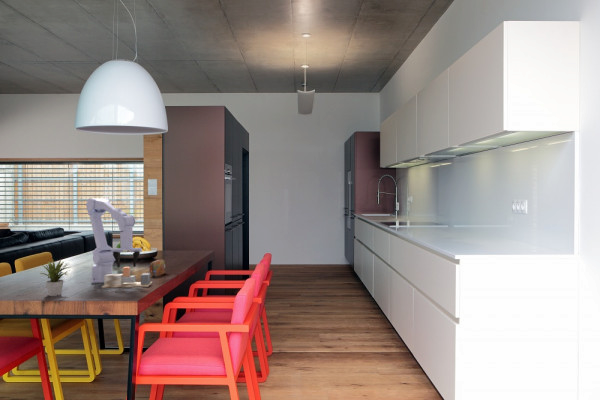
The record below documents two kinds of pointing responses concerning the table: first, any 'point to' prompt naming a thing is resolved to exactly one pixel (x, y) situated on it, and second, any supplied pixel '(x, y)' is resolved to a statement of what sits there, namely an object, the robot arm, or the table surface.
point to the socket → (145, 278)
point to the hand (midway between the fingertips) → (126, 266)
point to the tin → (157, 267)
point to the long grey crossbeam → (127, 276)
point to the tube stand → (119, 282)
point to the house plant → (55, 278)
